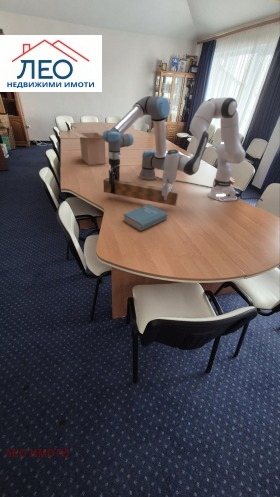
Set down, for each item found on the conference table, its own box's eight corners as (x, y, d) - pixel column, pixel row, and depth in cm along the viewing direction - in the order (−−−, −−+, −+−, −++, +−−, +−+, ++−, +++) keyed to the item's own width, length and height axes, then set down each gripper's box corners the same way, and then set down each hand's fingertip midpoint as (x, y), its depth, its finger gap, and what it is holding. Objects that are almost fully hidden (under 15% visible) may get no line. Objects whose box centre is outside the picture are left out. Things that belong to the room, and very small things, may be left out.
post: (103, 192, 159) (103, 180, 154) (106, 189, 163) (106, 177, 158) (175, 205, 148) (177, 193, 142) (176, 202, 152) (178, 190, 147)
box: (116, 165, 229) (116, 136, 213) (83, 168, 214) (80, 137, 198) (102, 154, 259) (101, 128, 243) (71, 156, 244) (68, 129, 228)
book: (148, 210, 150) (149, 204, 147) (166, 220, 141) (167, 213, 138) (123, 221, 137) (123, 213, 134) (141, 231, 128) (142, 224, 125)
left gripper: (114, 162, 137) (114, 197, 151) (124, 156, 152) (124, 188, 165) (103, 160, 139) (104, 195, 153) (114, 154, 153) (114, 186, 167)
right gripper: (170, 183, 132) (167, 204, 141) (177, 173, 148) (173, 193, 156) (160, 181, 134) (158, 202, 142) (167, 172, 149) (165, 191, 158)
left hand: (114, 191), depth 159 cm, fingers closed on post, 5 cm apart
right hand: (166, 197), depth 149 cm, fingers closed on post, 5 cm apart
